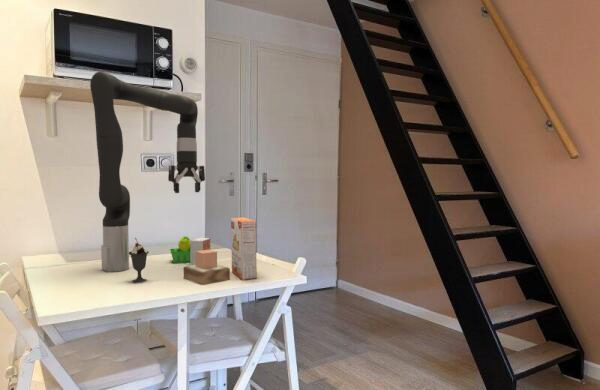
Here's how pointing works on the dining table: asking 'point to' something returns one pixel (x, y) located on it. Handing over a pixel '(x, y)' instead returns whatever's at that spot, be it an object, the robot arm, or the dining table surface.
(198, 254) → the cube
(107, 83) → the robot arm
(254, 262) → the cracker box
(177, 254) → the fruit basket
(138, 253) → the sundae
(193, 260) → the small box
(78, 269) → the dining table surface
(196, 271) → the block
